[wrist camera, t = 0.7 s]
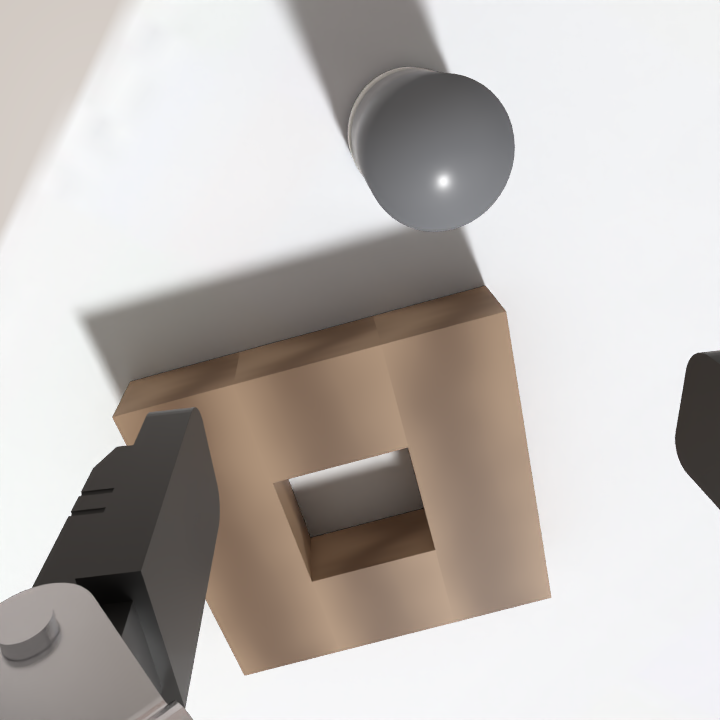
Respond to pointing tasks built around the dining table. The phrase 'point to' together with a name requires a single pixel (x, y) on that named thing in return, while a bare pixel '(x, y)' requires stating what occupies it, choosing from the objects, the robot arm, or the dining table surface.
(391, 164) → the connector plug
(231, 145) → the dining table surface
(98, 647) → the robot arm
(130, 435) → the end holder
